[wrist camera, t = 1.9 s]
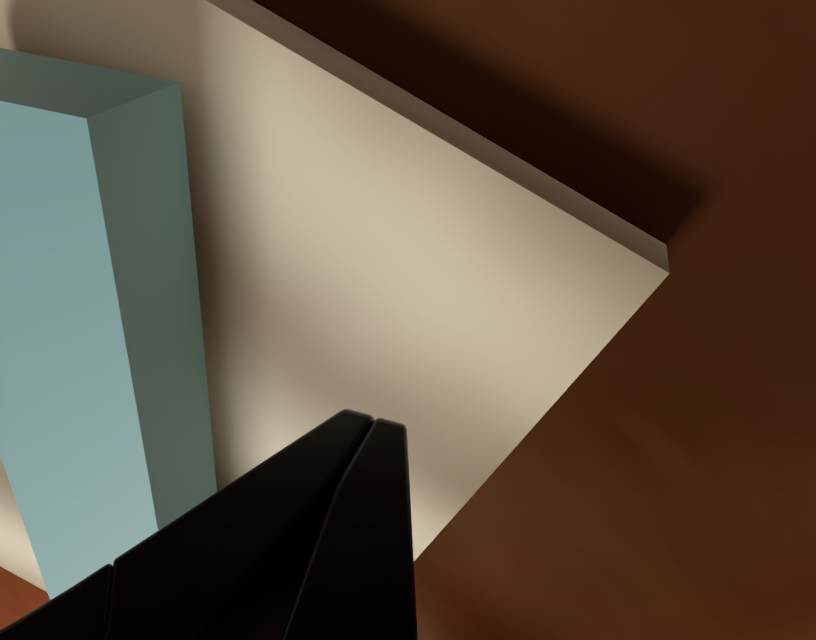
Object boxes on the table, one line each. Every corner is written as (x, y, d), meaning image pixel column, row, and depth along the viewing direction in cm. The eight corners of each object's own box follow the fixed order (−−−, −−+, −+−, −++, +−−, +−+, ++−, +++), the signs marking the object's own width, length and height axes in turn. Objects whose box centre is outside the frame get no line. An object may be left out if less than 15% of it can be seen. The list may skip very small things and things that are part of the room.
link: (249, 683, 23) (213, 758, 21) (119, 636, 24) (73, 704, 22) (210, 87, 12) (122, 125, 10) (-35, 40, 13) (-163, 67, 11)
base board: (287, 687, 26) (274, 718, 25) (-254, 385, 25) (-290, 405, 24) (665, 244, 13) (669, 273, 12) (-466, -424, 12) (-563, -453, 11)
